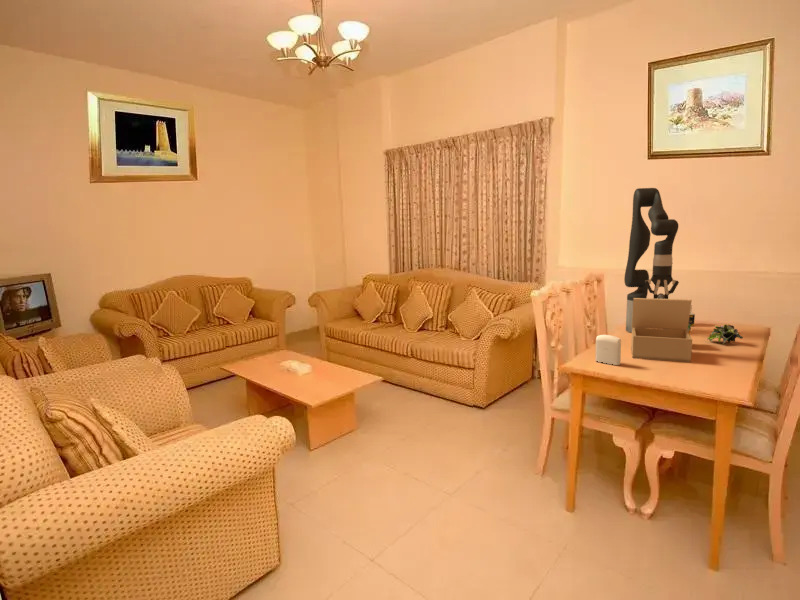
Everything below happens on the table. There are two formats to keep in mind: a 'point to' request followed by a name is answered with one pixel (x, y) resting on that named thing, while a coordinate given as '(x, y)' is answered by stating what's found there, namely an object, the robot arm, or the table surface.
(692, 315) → the medicine bottle
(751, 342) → the table surface
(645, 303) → the carton flap
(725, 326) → the green leafy plant
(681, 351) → the carton
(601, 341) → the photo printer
